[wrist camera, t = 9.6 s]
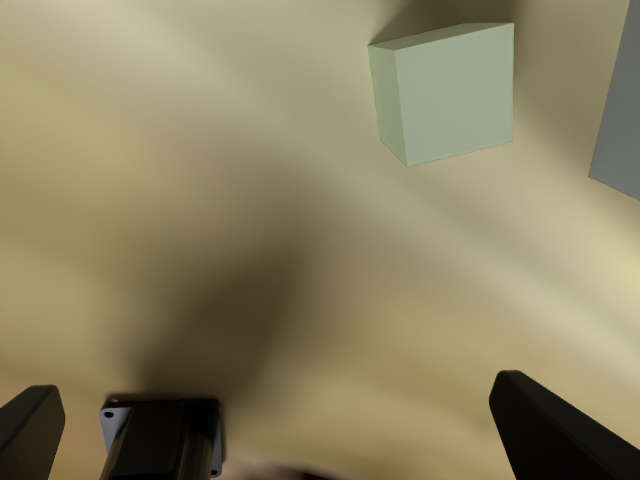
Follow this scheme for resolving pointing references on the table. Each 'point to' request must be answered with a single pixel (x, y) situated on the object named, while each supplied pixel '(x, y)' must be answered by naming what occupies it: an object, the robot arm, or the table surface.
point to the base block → (622, 116)
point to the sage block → (444, 91)
